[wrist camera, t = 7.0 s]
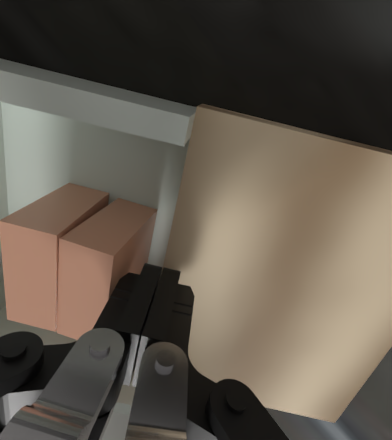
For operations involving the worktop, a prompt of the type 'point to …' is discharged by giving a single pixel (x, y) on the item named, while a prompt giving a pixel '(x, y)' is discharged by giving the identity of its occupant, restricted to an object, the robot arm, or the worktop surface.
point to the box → (88, 156)
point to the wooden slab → (285, 259)
